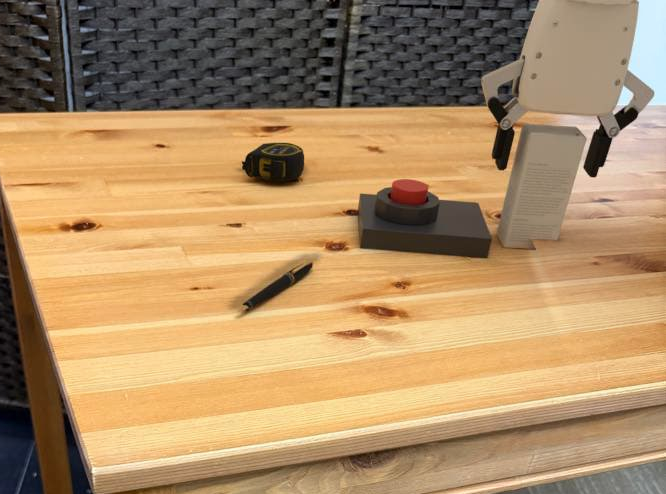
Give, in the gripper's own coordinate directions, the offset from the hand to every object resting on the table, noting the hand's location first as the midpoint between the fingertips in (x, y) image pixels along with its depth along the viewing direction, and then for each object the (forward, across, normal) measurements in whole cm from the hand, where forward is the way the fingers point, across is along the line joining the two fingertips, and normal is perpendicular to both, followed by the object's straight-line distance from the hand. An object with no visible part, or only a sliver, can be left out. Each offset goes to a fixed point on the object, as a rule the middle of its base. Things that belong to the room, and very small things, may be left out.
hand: (544, 169), depth 88 cm
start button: (+4, +14, 0) cm, 15 cm away
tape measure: (+8, +30, -15) cm, 35 cm away
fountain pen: (+8, +28, +18) cm, 34 cm away
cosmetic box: (+8, 0, 0) cm, 8 cm away
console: (+8, +12, 0) cm, 14 cm away
